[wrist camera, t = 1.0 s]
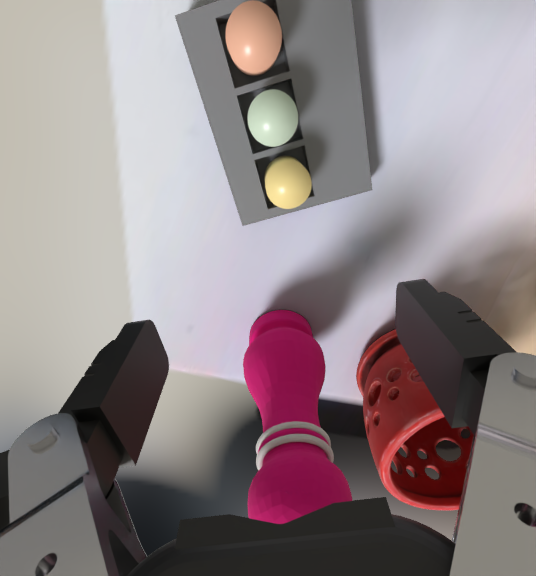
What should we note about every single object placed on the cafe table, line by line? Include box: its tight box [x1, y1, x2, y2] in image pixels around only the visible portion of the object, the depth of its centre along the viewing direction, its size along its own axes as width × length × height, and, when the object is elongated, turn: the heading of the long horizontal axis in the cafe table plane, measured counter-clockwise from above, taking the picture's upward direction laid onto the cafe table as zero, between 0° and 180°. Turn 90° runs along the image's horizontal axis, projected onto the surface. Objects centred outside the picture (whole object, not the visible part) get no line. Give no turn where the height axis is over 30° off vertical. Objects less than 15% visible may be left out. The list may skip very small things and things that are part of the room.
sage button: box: [248, 89, 298, 147], centre depth 20 cm, size 3×3×3 cm
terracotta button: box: [226, 0, 282, 76], centre depth 18 cm, size 3×3×3 cm
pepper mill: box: [243, 310, 352, 524], centre depth 24 cm, size 7×7×20 cm
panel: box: [175, 0, 372, 226], centre depth 22 cm, size 10×13×2 cm
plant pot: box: [356, 329, 474, 510], centre depth 29 cm, size 13×13×12 cm
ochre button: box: [264, 156, 312, 209], centre depth 22 cm, size 3×3×3 cm
